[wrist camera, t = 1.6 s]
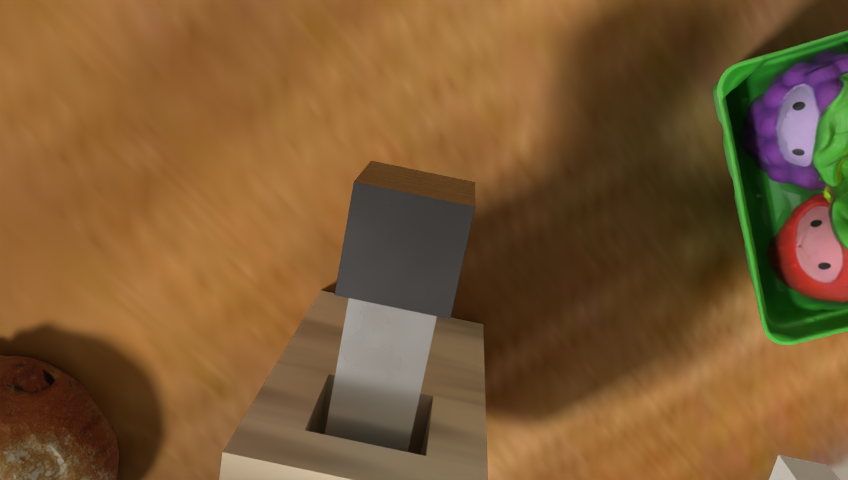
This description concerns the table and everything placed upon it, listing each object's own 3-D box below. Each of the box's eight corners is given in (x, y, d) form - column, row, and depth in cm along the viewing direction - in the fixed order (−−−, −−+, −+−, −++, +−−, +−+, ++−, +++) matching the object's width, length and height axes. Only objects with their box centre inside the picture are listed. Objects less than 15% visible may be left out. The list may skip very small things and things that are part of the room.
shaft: (384, 591, 29) (372, 666, 26) (298, 573, 29) (274, 645, 26) (475, 182, 24) (474, 206, 21) (371, 160, 24) (353, 181, 21)
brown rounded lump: (7, 460, 43) (-58, 598, 37) (-109, 351, 36) (-211, 497, 30) (162, 438, 42) (121, 577, 36) (71, 321, 35) (2, 467, 29)
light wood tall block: (461, 415, 36) (454, 641, 23) (305, 382, 36) (204, 588, 23) (483, 324, 35) (488, 508, 21) (320, 290, 35) (222, 452, 21)
